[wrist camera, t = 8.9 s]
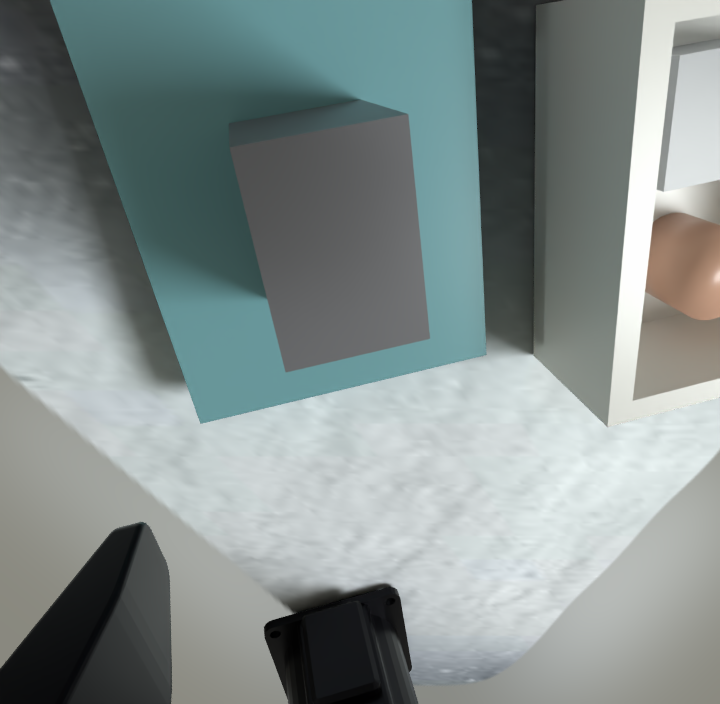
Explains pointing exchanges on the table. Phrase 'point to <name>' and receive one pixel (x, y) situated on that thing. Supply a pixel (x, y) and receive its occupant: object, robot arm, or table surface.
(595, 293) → the storage box
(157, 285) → the lid
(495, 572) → the table surface
